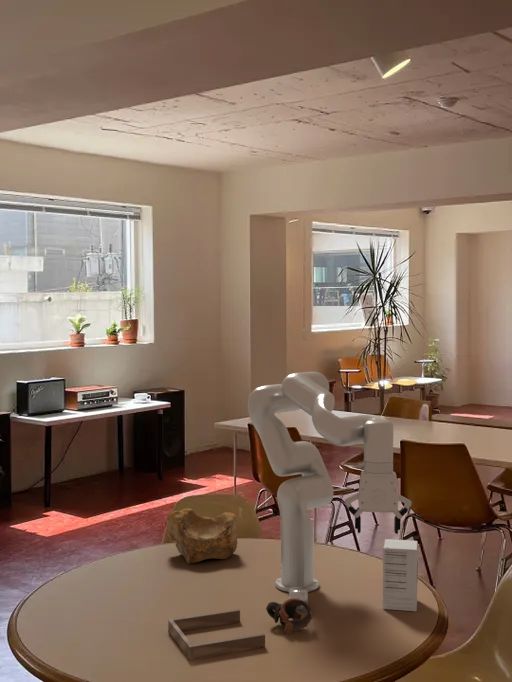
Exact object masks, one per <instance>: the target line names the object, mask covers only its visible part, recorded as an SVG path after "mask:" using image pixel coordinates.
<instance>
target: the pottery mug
mask: <svg viewBox="0 0 512 682" xmlns="http://www.w3.org/2000/svg"><path fill="white" fill-rule="evenodd" d="M300 605H303V606H304V607H305V608H306V615H305V616H304V617H303V614H302V613H301V612H297V611H296V608H297V606H300ZM265 610H266V612H267V614H268V615H269V616H270V618H272V619H273V620H274V622H275V624H278V622H280V623H283V622H284V623H285V624H286V625H285V627H284V633H286V634H288V635H290V634H291V633H293V632H296V631H299V630H302V629H304V628H306V627H307V626H308V625H309V624H310V622H311V620H312V619H313V616H312V613H311V608H310V606H309V604H307V603H306V602H304V601H302V600H300V599H295V598H293V599H289V598H288V599H287V600H285V601H284V602H283V603H278V602H276V601H271V602H269V603H267V605H266V607H265ZM291 620H292V621H291Z"/></svg>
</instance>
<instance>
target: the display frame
mask: <svg viewBox="0 0 512 682" xmlns="http://www.w3.org/2000/svg"><path fill="white" fill-rule="evenodd" d="M167 623H168V624H167V631H168V633H169V635H170V636H171V637H172V638H173V639H174V641H175V643H176V644H177V645H178V646H179V648H180V649H181V651H183V653H184V654H185V656H186V657H187V659H188V660H189V661H191V660H192V661H193V660H196V659H204V658H209V657H214V656H220V655H227V654H232V653H237V652H239V653H240V652H244V651H251V650H255V649H261V647H263V648H266V634H265V633H264V632H263V633H258V634H250V635H245V636H238V637H234V638H227V639H226V638H225V639H220V640H214V641H207V642H202V643H197V644H195V643H194V644H192V642H191V641H190V639H188V637H187V636H186V635H185V634H184V631H189V630H190V631H191V630H196V629H202V628H208V627H209V628H210V627H215V626H221V625H229V624H235V623H241V610H240V608H237V609H231V610H223V611H222V610H221V611H218V612H217V611H215V612H210V613H205V614H204V613H203V614H196V615H191V616H190V615H189V616H183V617H178V618H170V619H168V620H167Z"/></svg>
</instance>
